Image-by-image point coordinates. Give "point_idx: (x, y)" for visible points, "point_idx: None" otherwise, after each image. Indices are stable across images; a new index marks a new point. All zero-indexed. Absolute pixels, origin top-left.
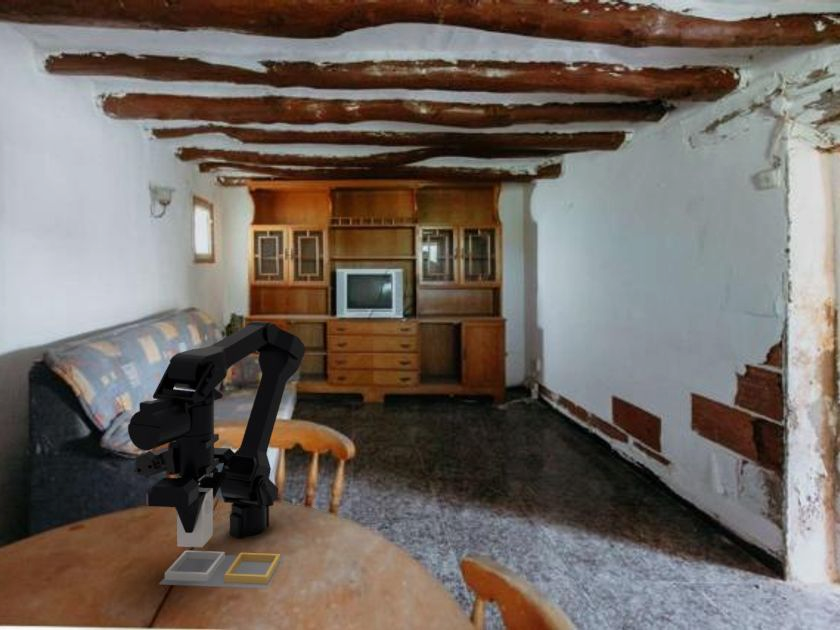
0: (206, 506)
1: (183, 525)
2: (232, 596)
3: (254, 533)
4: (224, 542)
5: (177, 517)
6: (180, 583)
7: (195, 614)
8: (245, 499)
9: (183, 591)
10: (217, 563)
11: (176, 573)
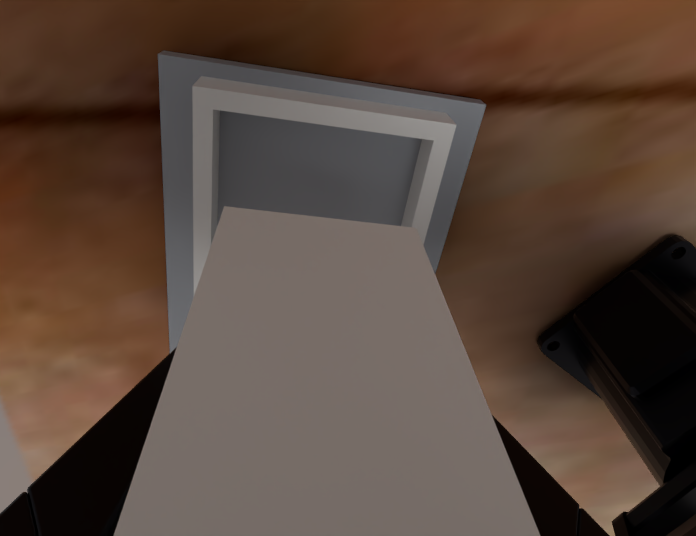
0: None
1: (133, 395)
2: (149, 367)
3: (586, 371)
4: (594, 242)
5: (166, 378)
6: (175, 173)
7: (6, 281)
8: (677, 532)
9: (160, 184)
10: None
11: (194, 157)
